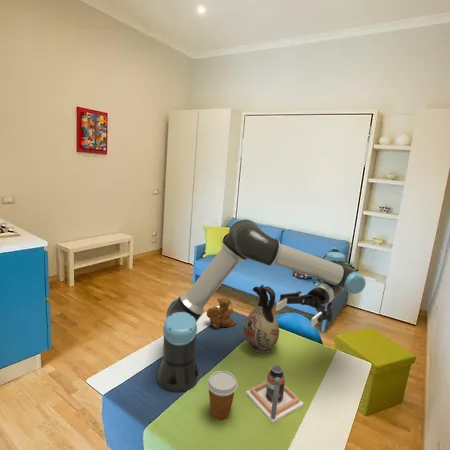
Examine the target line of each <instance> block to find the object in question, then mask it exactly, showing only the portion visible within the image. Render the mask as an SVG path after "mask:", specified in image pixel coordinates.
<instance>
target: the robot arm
mask: <svg viewBox="0 0 450 450" xmlns="http://www.w3.org/2000/svg"><path fill="white" fill-rule="evenodd" d="M221 244H222V248H221V249H220V250H219V252H217V254H216V255H215V257H214V258H213V259H212V260H211V261H210V263H209V264H208V265H207V267H206V268H205V269H204V270H203V272H202V273H201V275H200V276H199V277H198V278H197V280H196V281H195V283H193V284H192V286H191V287H190V289H189V290H188V291H187V292H186V293H181V294H180V295H179V296H178V297H177V298H176V299H173V300H172V301H171V302H170V304H169V305H168V307H167V310H166V315H165V316H166V317H165V321H164V323H163V327H162V331H163V347H162V349H163V351H162V352H163V353H162V361H161V363H160V365H159V368H158V371H157V382H158V384H159V386H160V387H161V388H163V389H164V390H166V391H169V392H173V393H181V392H186V391H189V390H191V389H192V388H194V387H195V386H196V385H197V383H198V382H199V379H200V370H199V366H198V363H197V360H196V351H197V349H196V347H197V346H196V345H197V332H198V324H197V322H198V321H199V319H200V318H201V317H202V315H203V314H204V313H205V309H204V307H205V306H206V304H207V303H208V302H209V301H210V299H212V297H213V296H214V294H215V293H216V292H217V291H218V289H219V288H220V287H221V285H222V284H223V283H224V282H225V280H226V279H227V278H228V277H229V276H230V274H231V273H232V272H233V270H234V269H235V268H236V267H237V265H238V264H239V263H241V262H244V261H245V262H246V260H247V259H248V260H251V261H254V262H256V263H257V262H258V263H260V264H263V265H266V266H272V265H275V266H278V267H280V268H281V267H282V268H284V269H288V270H289V271H290V270H291V271H294V272H296V273H298V274H299V273H300V274H302V275H304V276H309V277H311V278H314V279H317V280H319V281H322V282H321V284H319V285H317V286H315V287H314V288H312V289H311V290H309V292H308V293H307V294H302V291H300V290H299V291H296V292H290V293H283V294H280V295H279V300H278V301H277V302H276V304H275V311H276V312H278V311H280V310H282V309H283V308H285V307H286V306H287V305H300V306H309V307H311V308H313V309H315V311H316V312H317V314H315V315H314V316H313V317H312V318H311V321H310V326H311V327H314V326H316V325H317V324H318V323H322V322H323V321H326V320H327V321H328V322H330V323H331V322H332V318H333V312H332V311H333V310H332V307H333V303H332V301H333V300H334V299H336V298H338V297H339V296H340V295H341V294H342V293H343V291H344V290H345V291H346V292H348V293H350V294H353V295H355V294H360V293H361V292H362V291H363V290H364V289H365V287H366V284H367V283H366V279H365V277H364V276H363V275H362V274H361V273H360V272H358V271H356V270H355V269H354V268H352V267H351V266H350V265H348V264H347V263H346V255H345V254H343V253H342V252H337V251H329V252H327V253H326V254H325V259H324V258H321V257H318V256H316V255H313V254H310V253H307V252H304V251H302V250H299V249H297V248H294V247H292V246H288V245H286V244H282V243H281V242H280V240H279V239H277V238H274V237H272V236H270V235H268V234H267V233H265V232H264V231H263V230H262V229H261V228H260V227H259V225H258V224H257V223H256V222H254V221H252V220H251V219H249V218H240V219H237V220H236V221H234V222H232V224H231V226H230V227H229V230H228V233H227V235H226V237H224V238H223V240H222V241H221ZM324 308H325V309H324Z"/></svg>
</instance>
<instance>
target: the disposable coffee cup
mask: <svg viewBox="0 0 450 450" xmlns="http://www.w3.org/2000/svg"><path fill="white" fill-rule="evenodd" d="M207 387H208V393H209V394H208V395H209V397H208V398H209V407H210V415H211V417H212V418H214V419H217V420H221V421H222V420H226V419H227V418H229V416H230V414H231V411H232V406H233V401H234V396H235V391H236V390H237V388H238V382H237V379H236V377H235V376H234V374H233V373H231V372H230V371H226V370H217V371H214V372H213V373H212V374H210V376H209V377H208V379H207Z"/></svg>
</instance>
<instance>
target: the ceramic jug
mask: <svg viewBox="0 0 450 450" xmlns="http://www.w3.org/2000/svg"><path fill="white" fill-rule="evenodd" d="M252 292H254V293H255V294H256V295H257V296H258V297H259V301H258V303H257V304H256V305H255V307H254V308H253V309H252V310H251V312H249V314H248V316H247V317H246V320H245V323H244V325H243V337H244V340H245V341H246V342H247V343H248V345H249V346H250V348H251V350H252V351H253V352H255V353H260V354H268V353H269V352H270V351H271V350H272V348H273V347H274V346H275V345H276V344H277V342H279V341H278V340H279V336H280V328H279V322H278V320H277V318H276V316H275V314H274V312H273V308H274V305H275V302H276V293H275V290H274V289H272V287H270V286H264V284H261V285H260V286H257V285H256V286H254V287H253V288H252Z"/></svg>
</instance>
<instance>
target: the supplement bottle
mask: <svg viewBox="0 0 450 450" xmlns="http://www.w3.org/2000/svg"><path fill="white" fill-rule="evenodd" d="M276 377H279V378H280V379H281V382H280V386H279V394H278V402H281V401H282V399H283V393H284V385H286V384H285V381H286V376H285V373H284V369H283V367H282V366H280V365H278V364H273V365H272V366H271V367H270V370H269V371H268V373H267V378H266V381H267V386H266V397H267V399H268V400H269V401H271V402H272V401H273V392H274V384H275V382H274V379H275V378H276Z"/></svg>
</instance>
